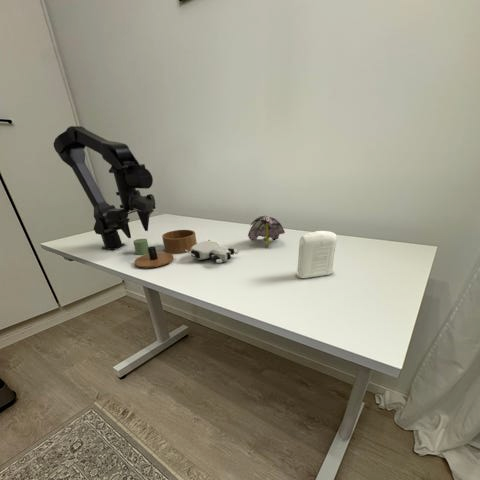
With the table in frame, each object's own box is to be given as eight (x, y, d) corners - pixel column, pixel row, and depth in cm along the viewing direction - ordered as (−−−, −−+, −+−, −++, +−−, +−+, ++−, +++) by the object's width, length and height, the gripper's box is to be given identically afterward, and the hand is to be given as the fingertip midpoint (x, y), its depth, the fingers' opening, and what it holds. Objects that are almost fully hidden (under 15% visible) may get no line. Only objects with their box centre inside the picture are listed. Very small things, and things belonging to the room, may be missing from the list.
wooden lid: (126, 266, 93) (122, 252, 90) (151, 253, 103) (148, 240, 100) (158, 271, 88) (154, 256, 85) (181, 257, 98) (178, 243, 95)
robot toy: (241, 259, 96) (208, 249, 103) (241, 246, 93) (207, 237, 100) (218, 271, 87) (184, 260, 94) (218, 258, 85) (183, 247, 92)
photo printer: (327, 269, 82) (332, 227, 76) (334, 274, 79) (340, 231, 72) (294, 274, 81) (297, 231, 74) (300, 280, 77) (304, 236, 71)
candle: (133, 253, 104) (130, 242, 101) (142, 249, 108) (139, 238, 105) (143, 255, 102) (140, 243, 100) (152, 250, 106) (149, 239, 103)
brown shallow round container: (158, 252, 104) (155, 237, 101) (177, 242, 113) (174, 228, 110) (185, 255, 100) (183, 240, 97) (202, 244, 109) (200, 230, 106)
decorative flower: (288, 212, 105) (274, 208, 92) (292, 243, 107) (279, 243, 94) (254, 221, 112) (237, 219, 99) (258, 250, 114) (242, 251, 101)
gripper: (125, 193, 83) (138, 244, 91) (162, 183, 97) (171, 228, 105) (98, 192, 87) (113, 241, 95) (138, 183, 101) (148, 227, 109)
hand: (138, 234), depth 101 cm, fingers open, 9 cm apart
